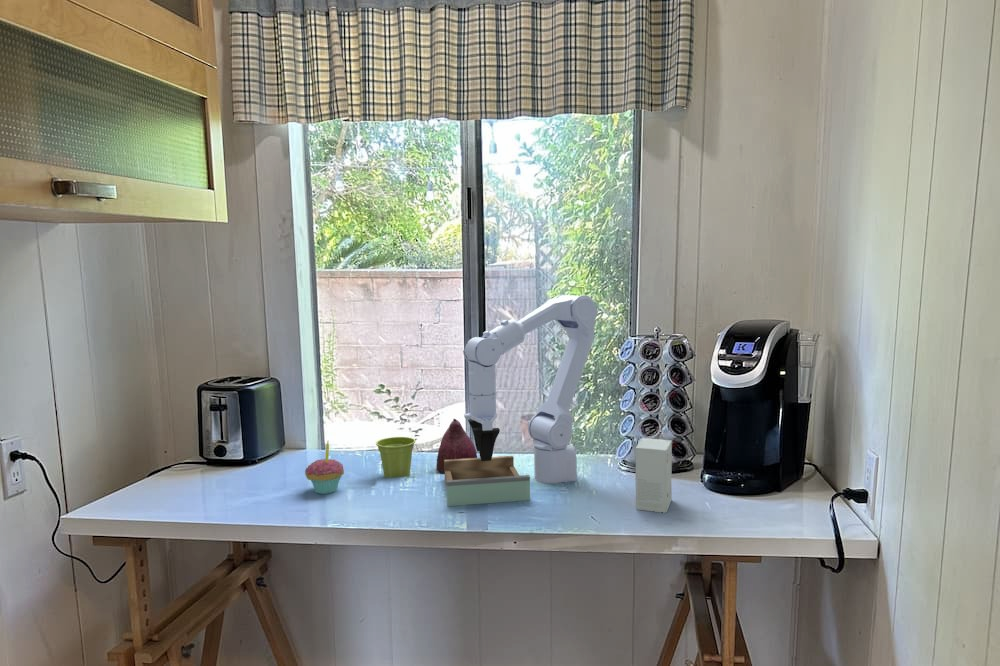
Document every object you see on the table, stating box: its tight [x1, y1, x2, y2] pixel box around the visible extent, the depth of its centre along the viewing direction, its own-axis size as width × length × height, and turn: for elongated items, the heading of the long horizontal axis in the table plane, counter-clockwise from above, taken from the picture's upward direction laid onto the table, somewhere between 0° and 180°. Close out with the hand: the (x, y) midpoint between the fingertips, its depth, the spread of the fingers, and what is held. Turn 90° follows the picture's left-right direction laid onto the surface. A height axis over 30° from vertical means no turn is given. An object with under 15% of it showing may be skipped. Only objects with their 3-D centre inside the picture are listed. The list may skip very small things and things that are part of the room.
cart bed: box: [444, 455, 521, 489], centre depth 136 cm, size 16×16×6 cm
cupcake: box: [304, 440, 345, 495], centre depth 141 cm, size 9×8×12 cm
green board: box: [445, 474, 531, 507], centre depth 128 cm, size 17×1×5 cm, turn 99°
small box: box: [634, 437, 673, 514], centre depth 128 cm, size 8×6×13 cm
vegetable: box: [435, 418, 478, 475], centre depth 154 cm, size 10×10×15 cm
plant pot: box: [375, 436, 416, 479], centre depth 150 cm, size 9×9×9 cm
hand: (483, 455), depth 134 cm, fingers open, 7 cm apart
